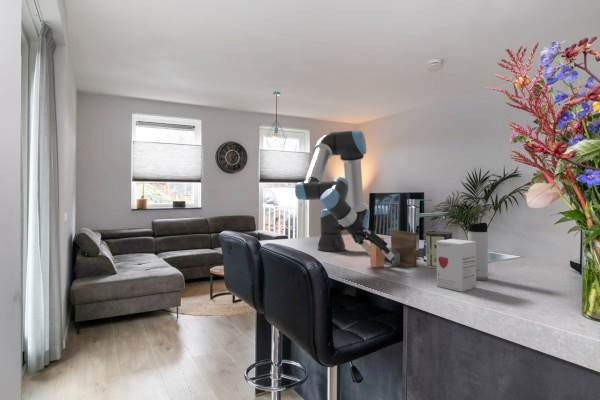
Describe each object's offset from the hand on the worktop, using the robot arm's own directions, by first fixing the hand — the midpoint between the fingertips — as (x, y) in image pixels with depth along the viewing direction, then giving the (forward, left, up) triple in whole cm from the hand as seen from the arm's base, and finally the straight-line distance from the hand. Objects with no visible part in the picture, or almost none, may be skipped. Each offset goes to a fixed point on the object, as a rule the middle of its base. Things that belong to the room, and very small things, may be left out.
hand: (381, 255), depth 151 cm
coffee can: (-11, +21, -5) cm, 24 cm away
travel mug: (+5, +37, -5) cm, 37 cm away
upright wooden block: (-2, +2, -4) cm, 5 cm away
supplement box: (+21, +32, -5) cm, 38 cm away
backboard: (-8, +6, -5) cm, 11 cm away
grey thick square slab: (-4, +3, -5) cm, 7 cm away
